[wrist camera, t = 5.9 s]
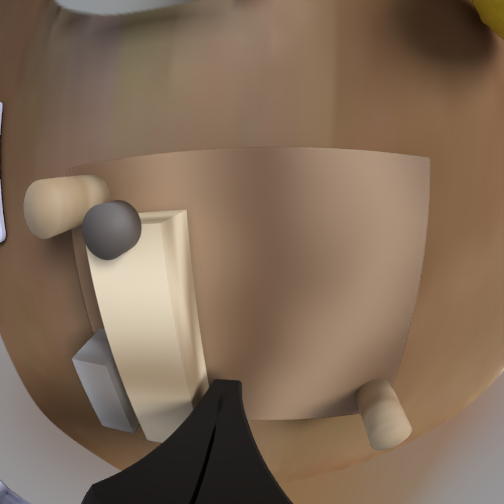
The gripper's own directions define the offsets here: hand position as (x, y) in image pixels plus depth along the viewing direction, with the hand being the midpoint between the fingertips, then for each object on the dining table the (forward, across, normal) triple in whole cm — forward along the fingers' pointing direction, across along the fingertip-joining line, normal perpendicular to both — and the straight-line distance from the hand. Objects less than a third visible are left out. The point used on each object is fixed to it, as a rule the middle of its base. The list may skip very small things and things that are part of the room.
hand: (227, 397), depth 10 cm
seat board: (+2, 0, -3) cm, 4 cm away
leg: (+1, +2, -3) cm, 4 cm away
